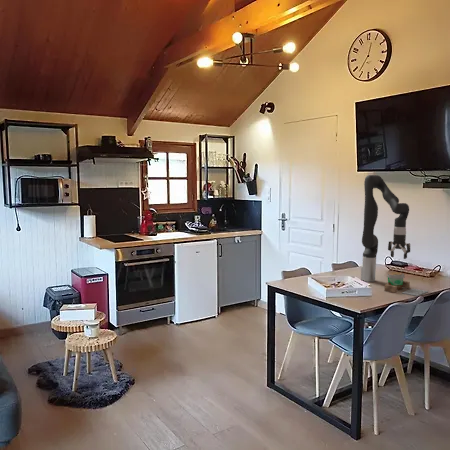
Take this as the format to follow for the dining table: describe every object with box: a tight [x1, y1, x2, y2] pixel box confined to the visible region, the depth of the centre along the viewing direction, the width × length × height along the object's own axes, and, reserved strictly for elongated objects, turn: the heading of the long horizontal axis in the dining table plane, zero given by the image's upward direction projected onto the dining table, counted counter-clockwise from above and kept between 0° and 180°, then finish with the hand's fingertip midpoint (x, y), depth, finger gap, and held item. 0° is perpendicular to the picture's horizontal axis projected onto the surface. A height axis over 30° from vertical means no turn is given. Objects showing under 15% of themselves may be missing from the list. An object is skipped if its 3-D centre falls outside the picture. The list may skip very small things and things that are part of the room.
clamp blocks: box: [384, 280, 411, 294], centre depth 303 cm, size 7×21×4 cm, turn 133°
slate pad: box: [401, 287, 429, 297], centre depth 294 cm, size 10×16×1 cm, turn 133°
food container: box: [386, 273, 405, 291], centre depth 302 cm, size 12×6×10 cm, turn 105°
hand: (398, 258), depth 301 cm, fingers open, 8 cm apart
